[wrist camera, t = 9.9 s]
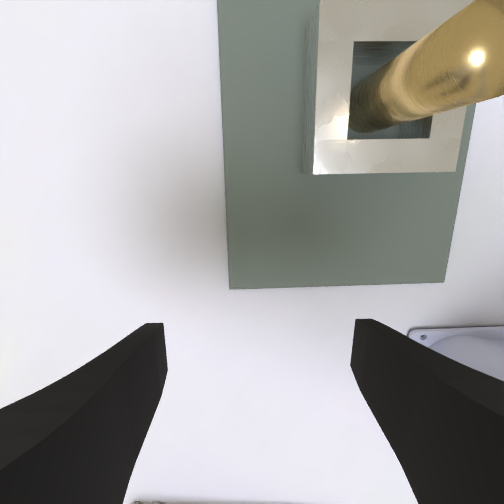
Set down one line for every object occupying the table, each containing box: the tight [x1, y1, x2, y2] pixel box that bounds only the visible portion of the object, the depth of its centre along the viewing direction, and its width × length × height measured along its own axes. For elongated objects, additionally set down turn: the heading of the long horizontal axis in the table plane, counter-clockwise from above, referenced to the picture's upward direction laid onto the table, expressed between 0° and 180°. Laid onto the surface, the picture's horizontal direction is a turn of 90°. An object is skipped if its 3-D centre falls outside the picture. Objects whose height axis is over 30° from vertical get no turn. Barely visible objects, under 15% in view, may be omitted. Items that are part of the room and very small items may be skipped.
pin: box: [348, 0, 504, 134], centre depth 13 cm, size 3×3×9 cm
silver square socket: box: [301, 0, 475, 174], centre depth 16 cm, size 8×8×3 cm
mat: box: [217, 0, 476, 289], centre depth 18 cm, size 16×18×1 cm
